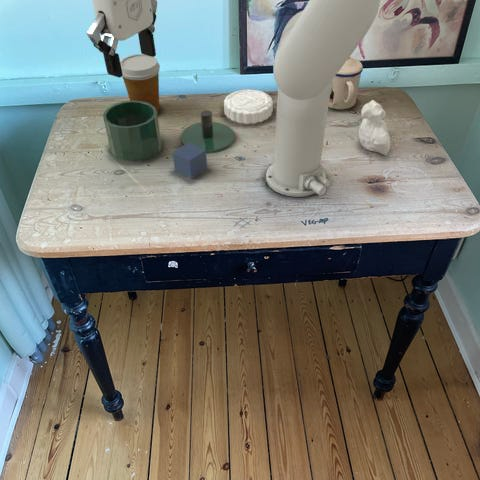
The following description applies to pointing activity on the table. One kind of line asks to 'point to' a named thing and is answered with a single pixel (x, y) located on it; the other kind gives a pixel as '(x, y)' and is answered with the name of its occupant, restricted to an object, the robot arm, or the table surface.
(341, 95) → the teacup with lid
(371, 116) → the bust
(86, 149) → the table surface
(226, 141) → the crock lid
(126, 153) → the crock
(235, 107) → the mooncake
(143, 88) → the disposable coffee cup
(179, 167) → the block
